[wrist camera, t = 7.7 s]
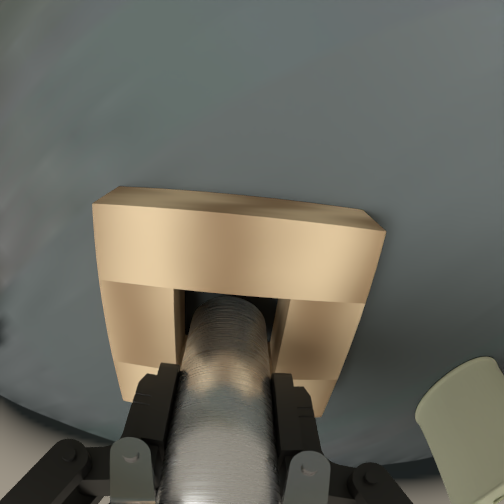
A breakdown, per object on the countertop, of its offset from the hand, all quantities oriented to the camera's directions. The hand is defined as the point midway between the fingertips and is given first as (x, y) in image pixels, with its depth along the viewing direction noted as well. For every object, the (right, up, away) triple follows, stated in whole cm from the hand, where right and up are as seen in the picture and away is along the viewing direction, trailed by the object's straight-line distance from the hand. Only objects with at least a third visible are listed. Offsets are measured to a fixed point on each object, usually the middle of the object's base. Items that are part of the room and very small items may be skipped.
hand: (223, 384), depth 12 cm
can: (+20, -8, +11) cm, 24 cm away
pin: (0, +2, +3) cm, 4 cm away
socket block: (0, +2, +5) cm, 6 cm away
